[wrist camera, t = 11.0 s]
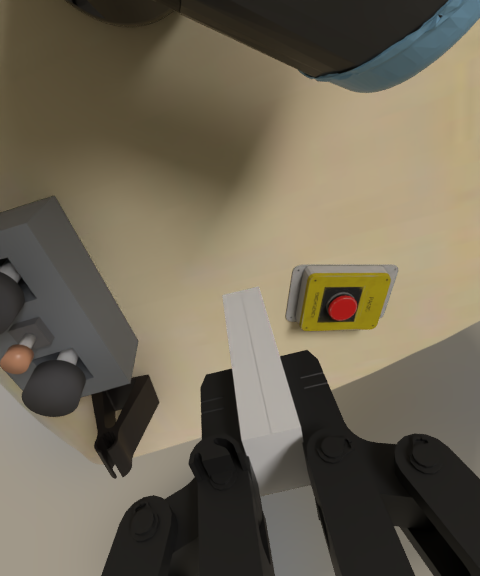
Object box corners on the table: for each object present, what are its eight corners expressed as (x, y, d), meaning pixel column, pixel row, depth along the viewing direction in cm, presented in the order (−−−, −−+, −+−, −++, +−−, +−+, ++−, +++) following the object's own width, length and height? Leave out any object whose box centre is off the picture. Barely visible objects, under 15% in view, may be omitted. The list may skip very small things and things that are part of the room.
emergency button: (301, 279, 44) (414, 278, 46) (292, 262, 48) (398, 262, 50) (291, 338, 49) (394, 335, 51) (284, 319, 53) (380, 317, 55)
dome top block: (12, 324, 38) (-11, 358, 34) (39, 316, 38) (19, 349, 33) (29, 344, 40) (9, 379, 35) (54, 337, 39) (37, 371, 35)
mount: (-47, 227, 40) (-95, 260, 33) (54, 195, 39) (26, 222, 33) (59, 364, 52) (39, 409, 45) (138, 341, 51) (130, 383, 44)
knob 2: (45, 326, 46) (10, 389, 37) (86, 313, 45) (61, 374, 37) (68, 356, 49) (41, 422, 40) (107, 345, 48) (88, 408, 40)
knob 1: (-16, 244, 39) (-76, 296, 30) (32, 229, 39) (-15, 277, 30) (15, 285, 42) (-32, 344, 33) (59, 271, 42) (24, 327, 33)
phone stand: (149, 374, 55) (140, 444, 45) (159, 400, 58) (152, 471, 48) (90, 385, 55) (67, 458, 44) (103, 410, 58) (85, 484, 48)
